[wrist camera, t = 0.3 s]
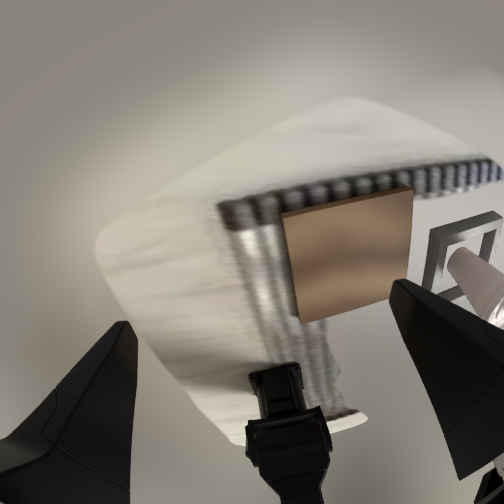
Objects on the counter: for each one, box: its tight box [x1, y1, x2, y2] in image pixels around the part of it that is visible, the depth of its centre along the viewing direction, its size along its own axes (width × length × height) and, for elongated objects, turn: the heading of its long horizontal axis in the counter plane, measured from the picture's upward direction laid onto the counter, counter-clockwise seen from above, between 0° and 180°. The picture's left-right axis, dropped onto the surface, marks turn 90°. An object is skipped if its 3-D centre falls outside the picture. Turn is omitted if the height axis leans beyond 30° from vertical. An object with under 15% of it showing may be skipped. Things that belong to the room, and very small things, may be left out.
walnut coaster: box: [281, 186, 413, 324], centre depth 25 cm, size 12×12×1 cm
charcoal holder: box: [421, 211, 503, 304], centre depth 27 cm, size 11×11×2 cm
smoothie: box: [447, 247, 504, 328], centre depth 22 cm, size 6×6×14 cm
